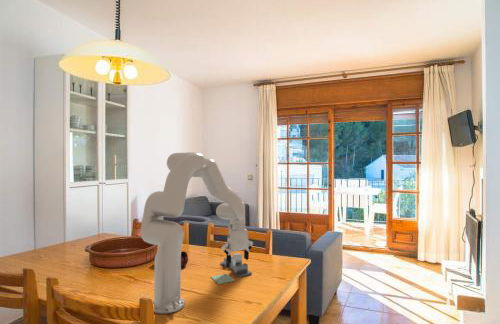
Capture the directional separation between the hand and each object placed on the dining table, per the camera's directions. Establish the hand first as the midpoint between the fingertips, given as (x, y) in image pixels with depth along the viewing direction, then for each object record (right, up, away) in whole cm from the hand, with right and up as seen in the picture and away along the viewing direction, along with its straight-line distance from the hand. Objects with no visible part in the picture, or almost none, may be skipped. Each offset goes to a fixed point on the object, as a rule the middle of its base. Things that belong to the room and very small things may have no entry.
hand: (237, 260), depth 152 cm
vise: (-1, -5, +1) cm, 5 cm away
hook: (-1, -5, +1) cm, 5 cm away
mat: (-6, -5, -12) cm, 14 cm away
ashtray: (-34, -5, +9) cm, 35 cm away
